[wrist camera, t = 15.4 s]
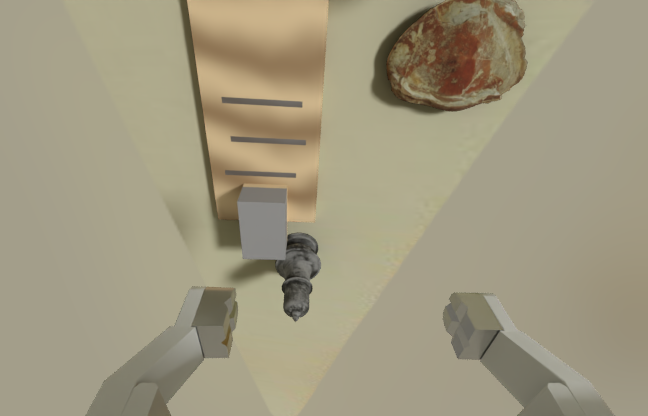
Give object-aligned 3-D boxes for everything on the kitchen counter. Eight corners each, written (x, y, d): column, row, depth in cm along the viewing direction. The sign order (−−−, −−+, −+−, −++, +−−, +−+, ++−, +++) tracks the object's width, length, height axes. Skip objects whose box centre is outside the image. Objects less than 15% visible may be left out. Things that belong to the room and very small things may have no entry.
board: (186, -34, 26) (181, -36, 25) (329, -22, 27) (330, -23, 26) (220, 213, 39) (218, 219, 38) (314, 217, 40) (314, 222, 39)
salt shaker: (280, 228, 41) (270, 299, 31) (323, 233, 42) (328, 305, 32) (275, 261, 44) (265, 335, 34) (316, 265, 45) (318, 340, 35)
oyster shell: (525, -24, 28) (548, -29, 25) (515, 90, 33) (534, 96, 30) (377, 16, 29) (384, 16, 26) (390, 120, 34) (397, 129, 31)
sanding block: (243, 183, 36) (237, 201, 32) (287, 185, 36) (285, 203, 33) (248, 237, 40) (242, 258, 37) (287, 239, 40) (285, 259, 37)
